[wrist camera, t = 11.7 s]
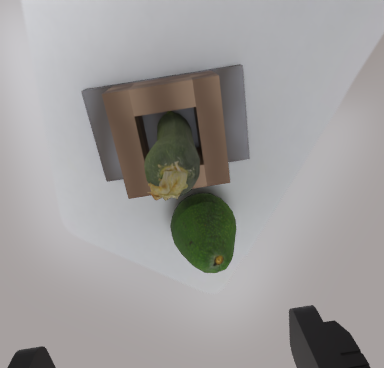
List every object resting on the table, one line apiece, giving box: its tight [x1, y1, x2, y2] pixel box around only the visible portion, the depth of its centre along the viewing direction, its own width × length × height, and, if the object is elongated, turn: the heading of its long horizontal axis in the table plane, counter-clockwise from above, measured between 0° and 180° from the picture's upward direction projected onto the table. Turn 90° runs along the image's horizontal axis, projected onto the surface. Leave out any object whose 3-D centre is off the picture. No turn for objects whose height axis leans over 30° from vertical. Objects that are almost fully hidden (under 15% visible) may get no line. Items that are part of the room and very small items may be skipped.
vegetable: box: [144, 111, 200, 201], centre depth 28 cm, size 4×4×20 cm
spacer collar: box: [81, 65, 250, 199], centre depth 35 cm, size 18×11×8 cm, turn 98°
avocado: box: [171, 193, 236, 273], centre depth 38 cm, size 8×8×12 cm
